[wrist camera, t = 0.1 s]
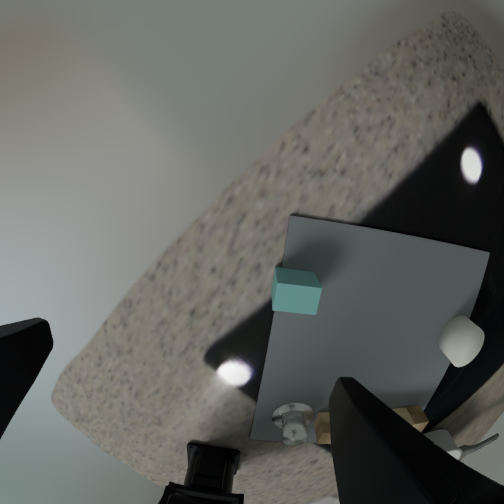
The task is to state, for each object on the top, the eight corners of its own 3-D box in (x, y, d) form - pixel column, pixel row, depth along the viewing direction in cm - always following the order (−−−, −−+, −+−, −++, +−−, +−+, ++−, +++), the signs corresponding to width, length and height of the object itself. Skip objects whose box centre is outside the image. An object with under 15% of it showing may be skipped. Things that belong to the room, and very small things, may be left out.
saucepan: (473, 436, 28) (484, 456, 23) (376, 475, 30) (383, 500, 24) (496, 394, 25) (512, 414, 20) (390, 438, 27) (402, 469, 22)
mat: (406, 433, 27) (407, 434, 26) (249, 438, 27) (249, 439, 27) (488, 252, 20) (489, 252, 20) (289, 215, 20) (289, 215, 20)
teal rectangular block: (308, 294, 22) (315, 314, 18) (271, 290, 22) (272, 310, 19) (313, 271, 21) (322, 288, 18) (275, 266, 21) (277, 282, 18)
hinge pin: (308, 427, 26) (311, 450, 23) (268, 425, 26) (268, 449, 23) (318, 401, 25) (323, 426, 21) (275, 399, 25) (276, 425, 22)
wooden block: (313, 424, 25) (316, 444, 22) (318, 411, 25) (323, 432, 22) (411, 417, 25) (420, 433, 22) (419, 405, 25) (428, 421, 22)
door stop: (459, 350, 23) (472, 365, 20) (432, 352, 23) (445, 368, 20) (474, 315, 22) (489, 328, 19) (447, 314, 22) (463, 328, 19)
